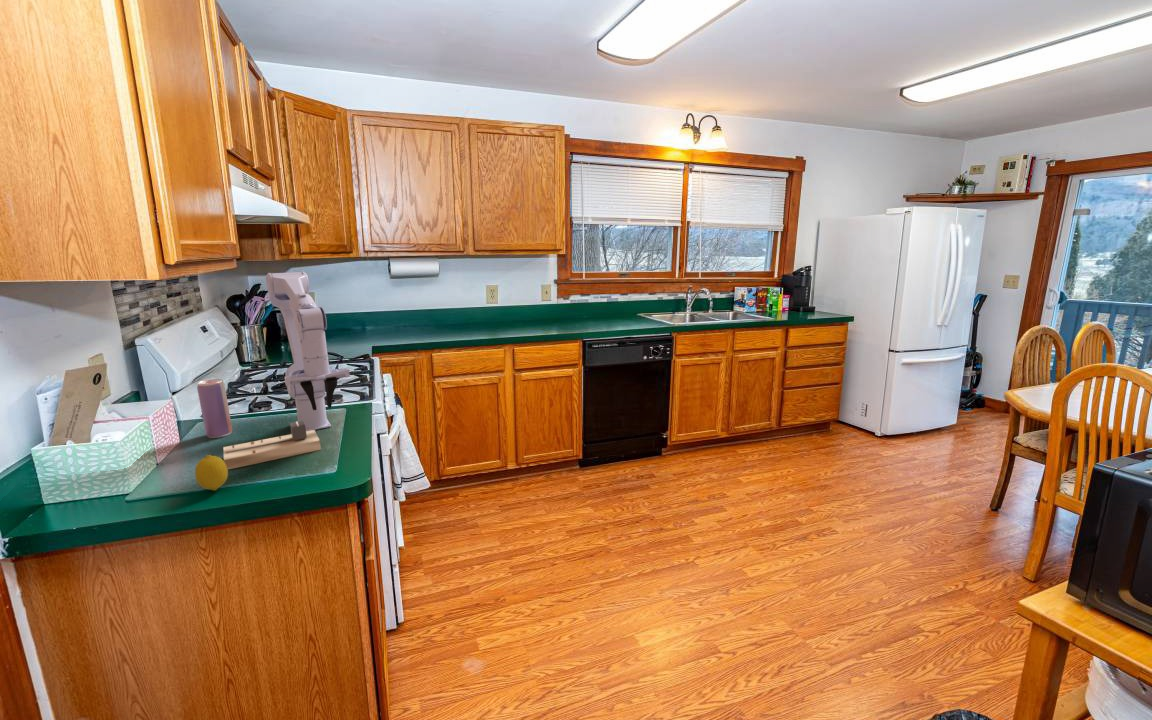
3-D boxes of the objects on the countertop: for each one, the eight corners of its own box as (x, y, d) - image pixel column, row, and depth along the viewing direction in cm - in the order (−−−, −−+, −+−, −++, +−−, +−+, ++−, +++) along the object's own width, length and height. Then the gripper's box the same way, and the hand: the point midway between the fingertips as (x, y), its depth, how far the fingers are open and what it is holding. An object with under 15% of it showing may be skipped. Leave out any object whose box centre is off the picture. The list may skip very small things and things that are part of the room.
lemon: (221, 482, 112) (214, 448, 110) (236, 487, 110) (229, 452, 108) (193, 493, 107) (186, 457, 106) (208, 499, 105) (201, 462, 103)
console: (225, 456, 125) (223, 446, 125) (315, 438, 136) (314, 429, 136) (225, 470, 118) (223, 459, 118) (320, 449, 129) (319, 439, 128)
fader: (291, 435, 131) (289, 422, 130) (304, 433, 132) (302, 420, 131) (293, 440, 127) (291, 427, 127) (306, 437, 129) (305, 424, 128)
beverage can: (219, 439, 136) (209, 385, 133) (200, 438, 137) (190, 384, 134) (238, 431, 142) (229, 379, 138) (220, 429, 143) (210, 378, 140)
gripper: (283, 363, 121) (291, 417, 124) (349, 355, 129) (355, 406, 132) (280, 358, 127) (288, 410, 130) (343, 350, 135) (349, 399, 138)
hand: (322, 407), depth 132 cm, fingers open, 3 cm apart
